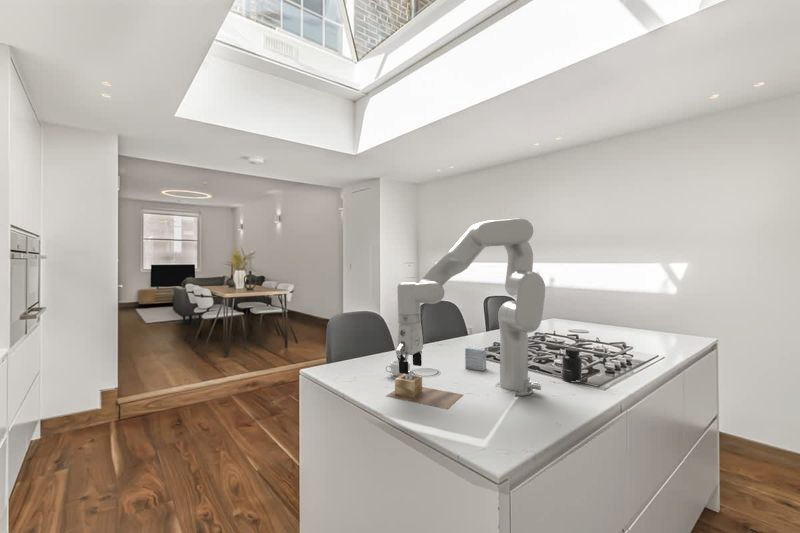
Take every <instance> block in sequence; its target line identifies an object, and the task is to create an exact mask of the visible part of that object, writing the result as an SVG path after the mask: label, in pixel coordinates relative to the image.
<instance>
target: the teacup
mask: <svg viewBox="0 0 800 533" xmlns="http://www.w3.org/2000/svg"><path fill="white" fill-rule="evenodd" d="M407 362H408V371H410V370H411V361H409V360H407ZM387 368H390V370H388V369H387ZM385 371H386V372H388V373H391V374H392V375H393V376H395V378H397V377H399V376H401V375H403V374H402V373H399V361H398V359H395V360H392V361H390V365H386V366H385Z"/></svg>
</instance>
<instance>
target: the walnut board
mask: <svg viewBox="0 0 800 533" xmlns="http://www.w3.org/2000/svg"><path fill="white" fill-rule="evenodd" d="M463 396H464V394H462V393H458V392H451V391H445V390H441V389H435V388H431V387H425V386H422V391H421V392H420V393H419V394H417V395H416V396H414V397H409V396H404V395H399V394H395V390H393V391H392V392H390V393H388V394H386V395H385V397H386V398H387V397H388V398H391V399H397V400H401V401H406V402H411V403H415V404H419V405H423V406H424V405H425V406H430V407H435V408H438V409H444V410H450V408H451V407H452V406H454V405H455V404H456V403H457V402H458V401H459V400H460V399H461V398H462V397H463Z"/></svg>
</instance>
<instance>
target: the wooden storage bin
mask: <svg viewBox="0 0 800 533" xmlns="http://www.w3.org/2000/svg"><path fill="white" fill-rule="evenodd" d="M422 387H423V376H422V375H417V374H416V375H415V374H412V380H406V379H405V374H403V375H401V376H399V377H395V378H394V391H395V394H399V395H404V396H409V397H414V396H416V395H417V394H419V393H420V392H421V391H422Z"/></svg>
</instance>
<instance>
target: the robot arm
mask: <svg viewBox="0 0 800 533" xmlns="http://www.w3.org/2000/svg"><path fill="white" fill-rule="evenodd" d="M533 226H534V225H533V224H532V223H531V222H530V221H529V220H528V219H526V218H521V217H518V218H509V219H507V218H506V219H497V220H484V221H480V222H477V223H473V224H472V225H471V226H469V228H468V229H467V230H466V231H465V233H464V234H463V235H461V237H460V238H459V239H458V240H457V241H456V242H455V244H454V245H453V246H452V247H451V248H450V249H449V251H447V253H446V254H445V255H444V256H442V258H440V260H438V261H437V263H436V262H435V264H434V265H433V266H432V267H431V268H430V269H429V270H428V271H427V272H426V274H425V275H424V276H423V277H422V278H421V279H420V281H419V282H414V281H405V282H399V283H398V285H397V290H396V292H397V317H398V318H397V323H398V330H397V331H398V333H397V348H396V349H395V354H396V359H397V360H398V361H399V373H402V374H408V362H407V361H408V358H409V355H410V356H412V365H413V366H416V367H417V366H418V367H422V366H423V364H422V353H423V351H422V350H423V348H424V340H423V339H424V338H423V329H422V323H421V319H422V318H421V304H431V305H433V304H438V303H440V302H441V301H442V300H443V299H444V298H445V288H444V285H445V284H446V283H447V282H448V281H449V280H450V279H452V278H453V277H455V276H457V275H459V274H461V273H462V272H464V271H465V270H467V269H468V268H469V267H470V266H471V264H472V263H474V261H475V260H476V259H477V258H478V256H479V255H480V253H482V252H483V250H484V249H485V248H487V247H488V248H489V247H500V246H501V247H502V246H503V247H504V248H505V250H506V254H507V268H506V274H505V282H504V284H505V285H504V287H505V288H504V289H505V291H506V292H507V294H508V295H509V296H511V297H514V298H516V300H508V301H505V302H504V303H502V305H500V307H499V310H498V312H497V313H498V314H497V319H498V320H497V321H498V326H499V327H498V328H499V340H500V342H499V343H500V344H499V347H500V348H499V355H500V356H499V381H498V382H497V383H496V384H495V388H502V389H504V390H507V391H516V393H515V395H514V396H517V397H524V396H528V395H531V394H533V390H536V391H537V390H538V391H541V389H542V384H540V383H539V382H538V381H537V382H535V381H532V380H531V377H529V335H528V334H530V333H533V332H535V331H536V330H538V328H539V327H540V325H541V323H542V320H543V314H544V305H545V297H546V296H545V295H546V283H545V281H544V280H545V279H544V278H543V277H542V276H541V275H540V274H539V273H537V272H534V271H533V265H534V253H533V249H532V246H531V244H530V242H529V241H530V240H531V239H532V237H533V235H534V227H533Z"/></svg>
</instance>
